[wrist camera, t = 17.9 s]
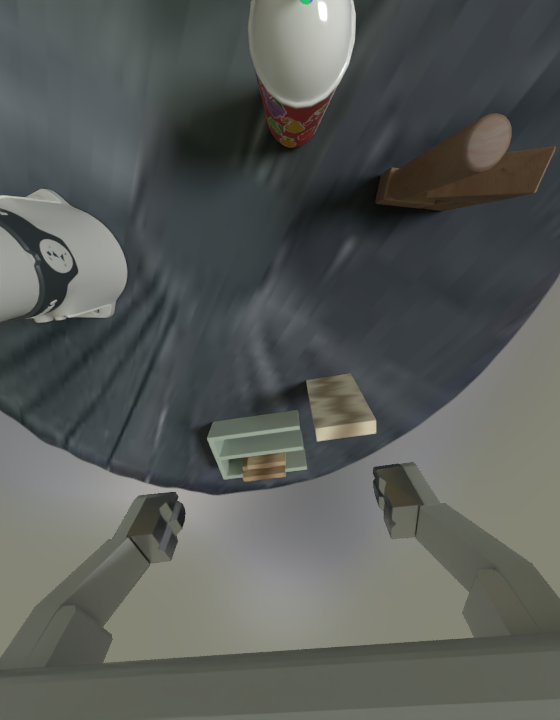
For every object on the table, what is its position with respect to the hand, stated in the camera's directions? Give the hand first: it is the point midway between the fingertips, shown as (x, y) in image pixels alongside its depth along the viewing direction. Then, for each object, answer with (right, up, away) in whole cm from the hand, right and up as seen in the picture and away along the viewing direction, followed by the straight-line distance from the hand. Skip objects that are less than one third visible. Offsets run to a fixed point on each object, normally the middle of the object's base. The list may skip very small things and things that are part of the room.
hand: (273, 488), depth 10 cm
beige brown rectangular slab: (+10, +1, +39) cm, 40 cm away
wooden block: (+20, +30, +25) cm, 43 cm away
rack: (-4, -12, +45) cm, 47 cm away
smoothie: (+2, +37, +21) cm, 43 cm away
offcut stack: (-3, -15, +46) cm, 49 cm away
